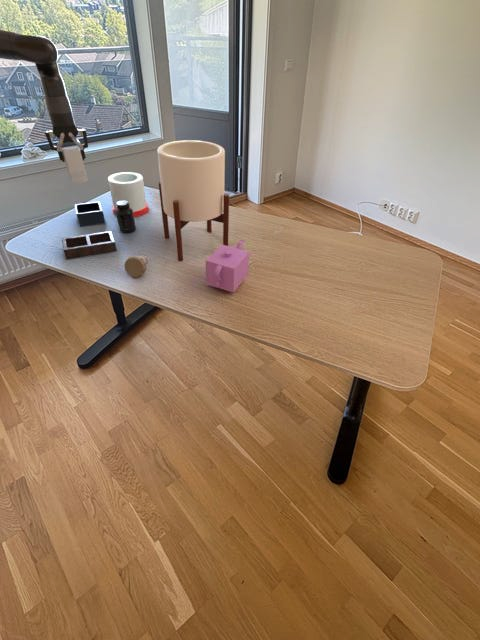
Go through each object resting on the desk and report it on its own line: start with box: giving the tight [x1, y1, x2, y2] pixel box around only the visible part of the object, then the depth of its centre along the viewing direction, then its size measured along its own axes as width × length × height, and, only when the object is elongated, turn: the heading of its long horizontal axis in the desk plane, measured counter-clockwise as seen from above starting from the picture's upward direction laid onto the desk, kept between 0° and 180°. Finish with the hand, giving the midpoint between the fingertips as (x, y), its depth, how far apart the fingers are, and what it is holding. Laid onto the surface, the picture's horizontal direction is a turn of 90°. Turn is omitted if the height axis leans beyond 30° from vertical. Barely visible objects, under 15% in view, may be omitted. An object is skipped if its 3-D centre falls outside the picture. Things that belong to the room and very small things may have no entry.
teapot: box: [205, 239, 250, 293], centre depth 117 cm, size 20×10×12 cm, turn 155°
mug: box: [123, 255, 149, 278], centre depth 121 cm, size 8×10×10 cm
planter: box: [157, 139, 230, 262], centre depth 127 cm, size 22×22×36 cm
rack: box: [61, 230, 118, 261], centre depth 131 cm, size 18×10×4 cm, turn 114°
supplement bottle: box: [115, 201, 137, 235], centre depth 141 cm, size 7×7×12 cm
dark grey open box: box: [74, 201, 106, 227], centre depth 149 cm, size 10×10×6 cm
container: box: [107, 171, 149, 218], centre depth 156 cm, size 16×16×15 cm
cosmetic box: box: [61, 145, 89, 184], centre depth 132 cm, size 6×4×12 cm
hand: (73, 160), depth 131 cm, fingers closed on cosmetic box, 6 cm apart
